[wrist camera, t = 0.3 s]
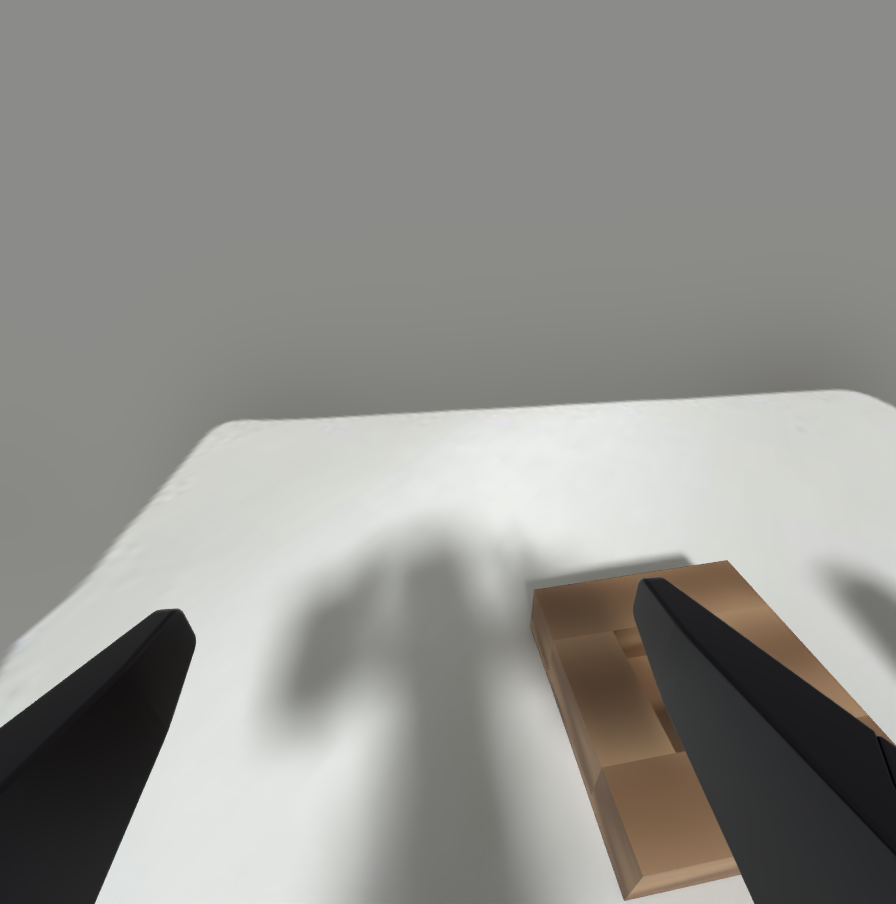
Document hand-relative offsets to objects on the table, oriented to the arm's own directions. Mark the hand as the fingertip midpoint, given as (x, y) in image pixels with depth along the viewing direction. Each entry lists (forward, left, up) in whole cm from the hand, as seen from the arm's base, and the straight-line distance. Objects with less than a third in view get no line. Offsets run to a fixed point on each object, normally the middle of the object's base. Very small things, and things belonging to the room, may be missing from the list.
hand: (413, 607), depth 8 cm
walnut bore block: (+4, -12, -17) cm, 21 cm away
